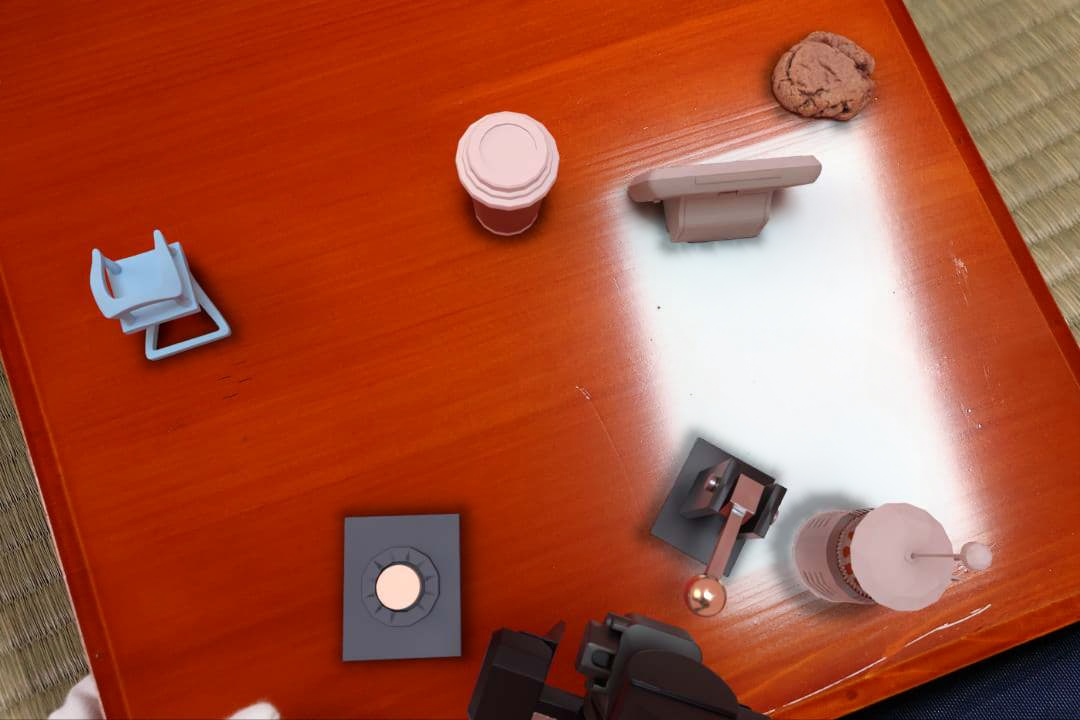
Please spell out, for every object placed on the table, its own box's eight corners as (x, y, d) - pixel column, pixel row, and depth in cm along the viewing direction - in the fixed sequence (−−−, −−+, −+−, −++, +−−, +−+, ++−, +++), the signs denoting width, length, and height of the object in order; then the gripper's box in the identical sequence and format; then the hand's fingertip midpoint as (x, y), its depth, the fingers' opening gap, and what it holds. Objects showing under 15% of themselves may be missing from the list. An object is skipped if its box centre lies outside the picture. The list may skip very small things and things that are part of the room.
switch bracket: (724, 576, 78) (765, 581, 66) (647, 533, 79) (673, 529, 67) (771, 480, 81) (819, 467, 69) (696, 438, 81) (730, 418, 69)
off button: (421, 607, 73) (420, 608, 71) (378, 609, 73) (376, 610, 71) (421, 563, 74) (419, 564, 72) (379, 565, 74) (376, 565, 72)
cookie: (752, 65, 90) (761, 49, 87) (837, 25, 92) (848, 8, 89) (802, 144, 88) (813, 130, 85) (888, 101, 90) (901, 86, 87)
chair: (209, 256, 83) (161, 207, 71) (232, 335, 81) (187, 299, 69) (129, 281, 82) (67, 236, 70) (151, 362, 80) (91, 329, 69)
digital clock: (787, 172, 88) (826, 121, 77) (785, 256, 86) (824, 215, 75) (628, 156, 87) (645, 102, 77) (622, 240, 85) (639, 197, 75)
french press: (786, 493, 80) (912, 466, 56) (909, 514, 80) (1088, 496, 56) (776, 601, 78) (902, 622, 54) (902, 622, 78) (1085, 653, 54)
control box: (462, 653, 76) (460, 658, 72) (347, 658, 75) (339, 663, 71) (460, 514, 79) (458, 512, 75) (349, 518, 78) (341, 516, 74)
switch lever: (709, 630, 65) (726, 618, 62) (671, 609, 65) (686, 596, 62) (755, 502, 72) (772, 487, 69) (721, 484, 72) (737, 467, 69)
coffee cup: (459, 163, 86) (453, 101, 74) (550, 161, 87) (558, 100, 75) (461, 249, 84) (455, 200, 72) (554, 247, 85) (563, 198, 73)
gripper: (838, 744, 45) (787, 592, 60) (497, 629, 45) (531, 507, 60) (761, 905, 48) (730, 722, 63) (441, 796, 48) (487, 640, 63)
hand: (621, 646), depth 62 cm, fingers open, 9 cm apart
